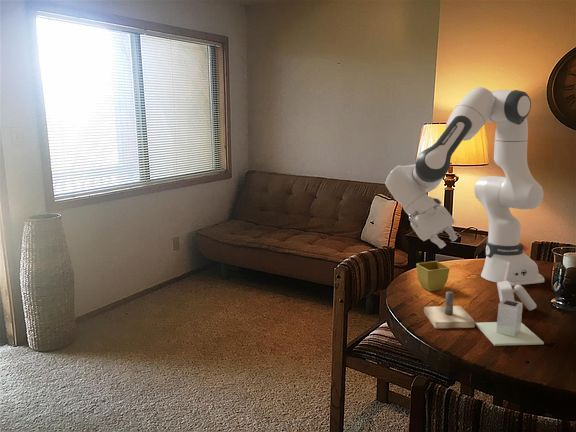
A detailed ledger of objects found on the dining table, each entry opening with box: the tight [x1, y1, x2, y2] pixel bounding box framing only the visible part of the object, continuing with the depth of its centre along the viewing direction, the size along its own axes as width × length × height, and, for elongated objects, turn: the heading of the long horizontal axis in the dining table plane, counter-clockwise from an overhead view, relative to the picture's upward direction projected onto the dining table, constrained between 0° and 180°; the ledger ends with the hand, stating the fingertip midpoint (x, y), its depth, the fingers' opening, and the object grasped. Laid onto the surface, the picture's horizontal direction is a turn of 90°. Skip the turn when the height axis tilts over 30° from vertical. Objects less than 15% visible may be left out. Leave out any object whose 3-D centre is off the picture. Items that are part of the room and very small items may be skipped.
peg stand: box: [423, 290, 476, 329], centre depth 160 cm, size 12×12×9 cm
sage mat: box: [475, 321, 545, 347], centre depth 150 cm, size 14×14×1 cm
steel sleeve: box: [496, 299, 524, 338], centre depth 149 cm, size 5×5×9 cm
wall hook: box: [496, 281, 537, 311], centre depth 167 cm, size 8×10×10 cm
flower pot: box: [415, 260, 450, 292], centre depth 186 cm, size 9×9×9 cm
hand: (449, 243), depth 161 cm, fingers open, 8 cm apart
